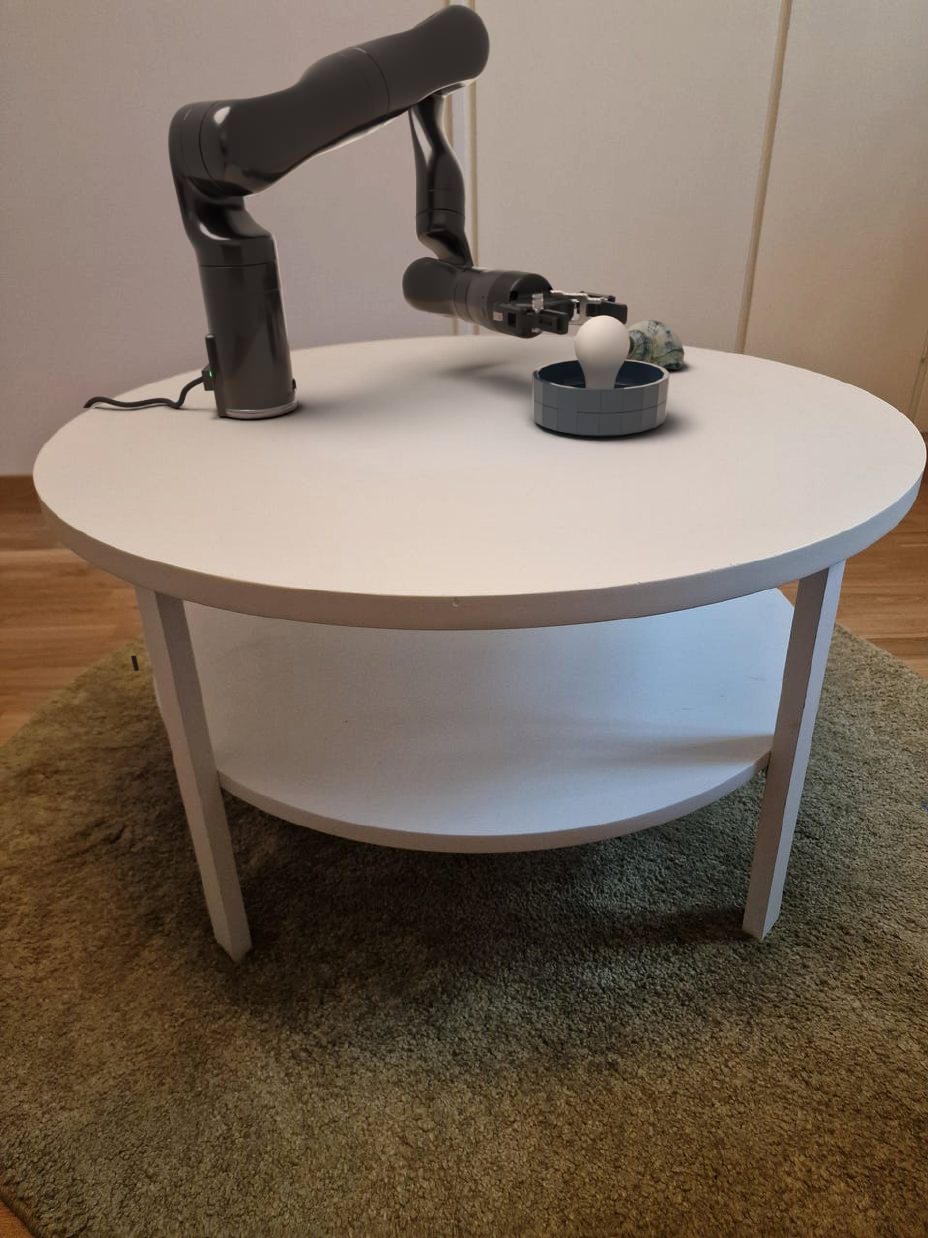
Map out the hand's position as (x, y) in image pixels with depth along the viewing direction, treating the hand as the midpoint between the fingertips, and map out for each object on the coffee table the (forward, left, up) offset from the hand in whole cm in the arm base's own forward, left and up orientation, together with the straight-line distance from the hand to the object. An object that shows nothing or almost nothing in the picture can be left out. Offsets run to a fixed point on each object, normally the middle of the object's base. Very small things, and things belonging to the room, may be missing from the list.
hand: (596, 319), depth 94 cm
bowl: (+1, -1, -11) cm, 11 cm away
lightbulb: (+1, 0, -11) cm, 11 cm away
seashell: (+12, +24, -11) cm, 29 cm away
